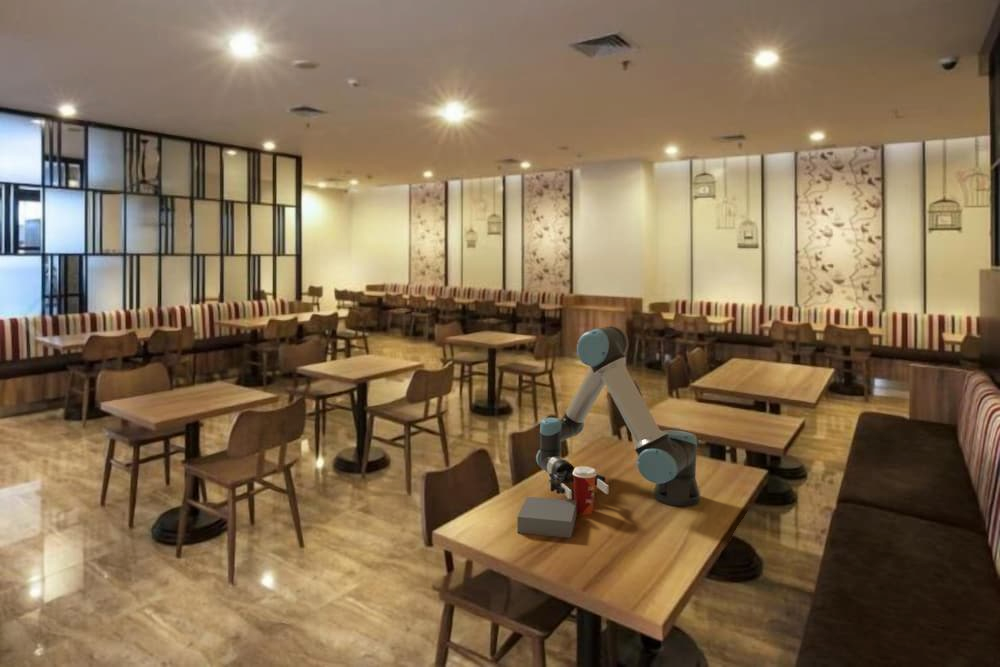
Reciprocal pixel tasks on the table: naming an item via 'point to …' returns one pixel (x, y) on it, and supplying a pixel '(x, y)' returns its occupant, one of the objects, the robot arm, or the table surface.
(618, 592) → the table surface
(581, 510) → the paper cup
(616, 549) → the table surface
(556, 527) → the base block
